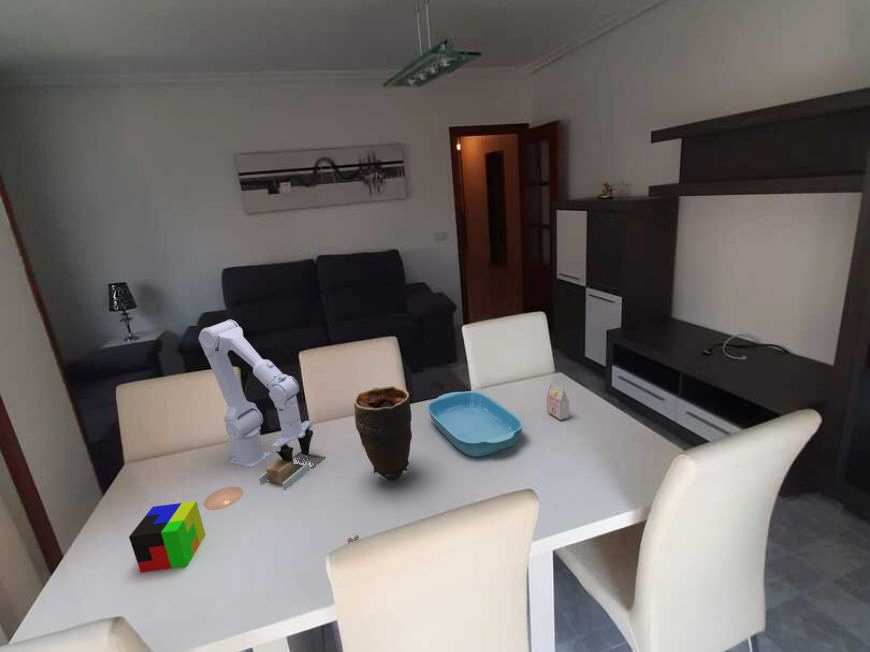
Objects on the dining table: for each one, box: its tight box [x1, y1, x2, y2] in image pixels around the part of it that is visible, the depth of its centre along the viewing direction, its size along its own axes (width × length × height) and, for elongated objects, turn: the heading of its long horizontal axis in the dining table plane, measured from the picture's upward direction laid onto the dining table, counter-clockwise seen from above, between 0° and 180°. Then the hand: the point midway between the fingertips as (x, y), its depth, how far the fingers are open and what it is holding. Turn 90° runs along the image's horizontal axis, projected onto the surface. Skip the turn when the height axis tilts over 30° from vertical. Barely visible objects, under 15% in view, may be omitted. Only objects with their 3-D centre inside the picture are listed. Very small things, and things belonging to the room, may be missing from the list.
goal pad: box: [203, 486, 244, 511], centre depth 124 cm, size 10×10×1 cm
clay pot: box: [353, 384, 413, 482], centre depth 123 cm, size 15×15×25 cm
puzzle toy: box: [128, 500, 206, 573], centre depth 104 cm, size 10×10×10 cm
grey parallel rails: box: [258, 463, 310, 491], centre depth 131 cm, size 9×10×2 cm
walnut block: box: [265, 458, 295, 487], centre depth 129 cm, size 5×5×5 cm
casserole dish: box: [426, 390, 524, 458], centre depth 146 cm, size 37×22×7 cm, turn 24°
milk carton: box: [546, 383, 570, 421], centre depth 152 cm, size 4×7×10 cm, turn 23°
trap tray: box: [292, 451, 326, 469], centre depth 139 cm, size 10×6×1 cm, turn 65°
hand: (297, 460), depth 136 cm, fingers open, 6 cm apart
